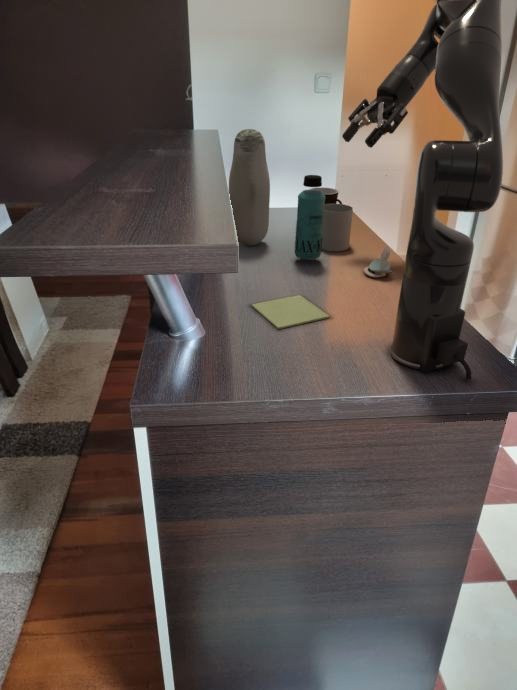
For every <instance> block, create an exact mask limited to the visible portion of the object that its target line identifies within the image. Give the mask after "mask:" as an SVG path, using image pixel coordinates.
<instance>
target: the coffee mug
mask: <svg viewBox="0 0 517 690" xmlns="http://www.w3.org/2000/svg"><path fill="white" fill-rule="evenodd" d="M308 190H319V191H321V192H322V193H323V194H324V195H325V204H343V202H342V200H340V199H338V198H339V196H338V195H339V190H338V189H336V188H331V187H310V188H309V189H308ZM337 202H338V203H337Z"/></svg>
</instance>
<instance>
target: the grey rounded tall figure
mask: <svg viewBox="0 0 517 690" xmlns="http://www.w3.org/2000/svg"><path fill="white" fill-rule="evenodd" d="M269 173H270V172H269V167H268V162H267V154H266V142H265V138H264V135H263V134H262V133H261V132H260V131H259V130H256V129H252V128H245V129H242V130H240V131H239V132H238V133H237V134H236V135H235V138H234V141H233V153H232V161H231V167H230V170H229V176H228V195H229V194H230V200H231V205H232V208H233V215H234V220H235V225H236V230H237V236H238V241H239V242H238V241H237V242H238V243H240V244H242V245H244V246H254V245H258V244H260V243H261V242H262V241H263V240H264V239H265V238H266V236H267V235H268V231H269V224H270V201H271V200H270V199H271V198H270V197H271V181H270V180H271V179H270V174H269Z"/></svg>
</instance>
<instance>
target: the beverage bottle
mask: <svg viewBox="0 0 517 690" xmlns="http://www.w3.org/2000/svg"><path fill="white" fill-rule="evenodd" d="M322 179H323V178H322V176H321V175H319V174H306V175H304V177H303V183H302V185H303V186H304V187H305V188H321V187H322V185H323V180H322ZM324 204H325V195H324V194H323V193H322V192H321V191H319V190H309V189H303V190H302V191H301V192H300V193H299V194H298V196H297V209H296V210H297V212H296V223H295V225H296V226H295V237H294V239H295V241H294V249H293V251H294V256H295V257H296V258H298V259H302V260H317V259H319V258H320V257H321V254H322V250H323V249H321V248H322V239H323V238H322V231H323V222H324V221H323V218H324Z"/></svg>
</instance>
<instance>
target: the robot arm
mask: <svg viewBox="0 0 517 690" xmlns="http://www.w3.org/2000/svg"><path fill="white" fill-rule="evenodd" d="M434 3H435V4H434V5H433V7H432V8H431V10H430V13H429V15H428V17H427V19H426V21H425V23H424V27H423V29H422V30H421V33H420V35H419V36H418V37H417V39H416V41H415V43H414V44H413V45H412V47H411V48H410V49H409V50H408V52H407V53H406V54H405V55H404V56H403V57H402V59H400V60H399V62H397V64H395V66H394V67H393V68H392V70H391V71H390V72H389V73H388V75H386V77H385V78H384V80H382V82H381V83H380V85H378V87H377V89H376V96H375V98H374V99H373V100H371V102H370V101H369V100H368V99H367V98H364V99H363V100H362V101H361V102H360V103H359V104H358V105H357V107H356V108H355V109H354V110H353V112H352V113H351V114H350V115H349V116H348V118H347V120H348V121H349V122H350V124H349V126H347V128H346V129H345V131H343V133H342V135H341V136H342V139H343V140H344V141H345V142H346V143H350V142H351V141H352V139H353V138H354V137H355V135H357V133H358V132H359V130H360V129H361V128H363V127H365V126H366V127H369V126H370V125H371V124H376V125H377V126H376V127H374V129H372V131H371V132H370V133H369V134H368V136H367V137H366V138H365V140H364V143H365V144H366V146H367V147H368V148H369V149H370V148H371V149H372V148H373V147H374V146H375V145H376V144H377V142H378V141H379V140H380V139H381V138H382V137H383V136H385V135H386V134H387V133H389V134H390V135H392V134H393V133H394V132H396V130H397V128H398V127H399V126H400V125H401V123H402V122H403V121H404V119H405V118H406V117H407V115H408V114H409V112H408V109H407V106H408V105H409V104H410V102H412V100H413V99H414V97H415V96H416V95H417V94H418V92H420V90H421V89H422V87H423V86H424V85H425V83H426V81H427V80H428V79H429V77H430V76H431V75H432V73H433V72H434V86H435V90H436V92H437V94H438V97H439V98H440V100H441V101H442V103H443V104H444V105H445V107H446V108H447V109H448V111H449V112H450V113H451V114H452V115H453V117H454V118H455V119H456V120H457V122H459V124H460V125H461V126H462V128H463V130H464V131H465V133H466V136H467V139H468V140H453V139H452V140H451V139H450V140H448V139H433V140H429V141H428V142H427V143H426V144H425V145H424V146H423V148H422V150H421V152H420V155H419V159H418V164H417V169H416V176H415V177H416V178H415V188H414V201H413V209H412V217H411V223H410V229H409V237H408V241H407V246H406V254H405V261H404V267H403V273H402V279H401V286H400V291H399V299H398V305H397V309H396V310H397V311H396V316H395V324H394V329H393V330H394V331H393V337H392V342H391V343H392V344H391V345H390V355H391V357H392V359H394V360H395V361H396V362H397V363H399V364H401V365H403V366H406V367H408V368H411V369H416V370H419V371H421V372H423V373H425V374H426V373H430V372H432V371H433V372H434V371H436V370H440V369H443V368H446V367H449V366H450V367H451V366H453V365H454V364H456V363H460V364H461V366H462V367H463V368H464V370H465V379H466V380H467V381H470V380H471V379H472V369H471V366H470V365H469V364H468V362H467V361H466V360H465V358H466V354H467V351H468V350H467V349H468V346H469V343H468V342H466V341H464V340H462V339H461V338H460V337H461V334H462V330H463V326H464V325H463V324H464V321H465V316H466V311H465V310H464V309H462V304H463V300H464V299H463V298H464V295H465V289H466V284H467V280H468V276H469V272H470V267H471V264H472V263H471V262H472V259H473V254H474V248H475V243H474V240H473V239H472V238H471V237H469V235H467V234H465V233H463V232H461V231H459V230H456V229H454V228H452V227H450V226H448V225H446V224H444V223H443V222H442V221H441V220H440V219H438V218H437V216H436V214H437V212H438V211H441V212H444V211H445V212H455V213H456V212H458V213H483V212H488V211H489V210H490V209H492V208H493V207H494V206H495V204H496V202H497V200H498V198H499V196H500V192H501V190H502V189H501V188H502V184H503V183H502V182H503V174H504V154H503V143H502V142H503V141H502V131H501V118H500V91H501V90H500V88H501V76H502V75H501V72H502V48H503V47H502V10H501V9H502V0H434ZM436 38H437V39H439V41H438V40H437V39H436ZM392 123H393V124H392Z"/></svg>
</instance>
